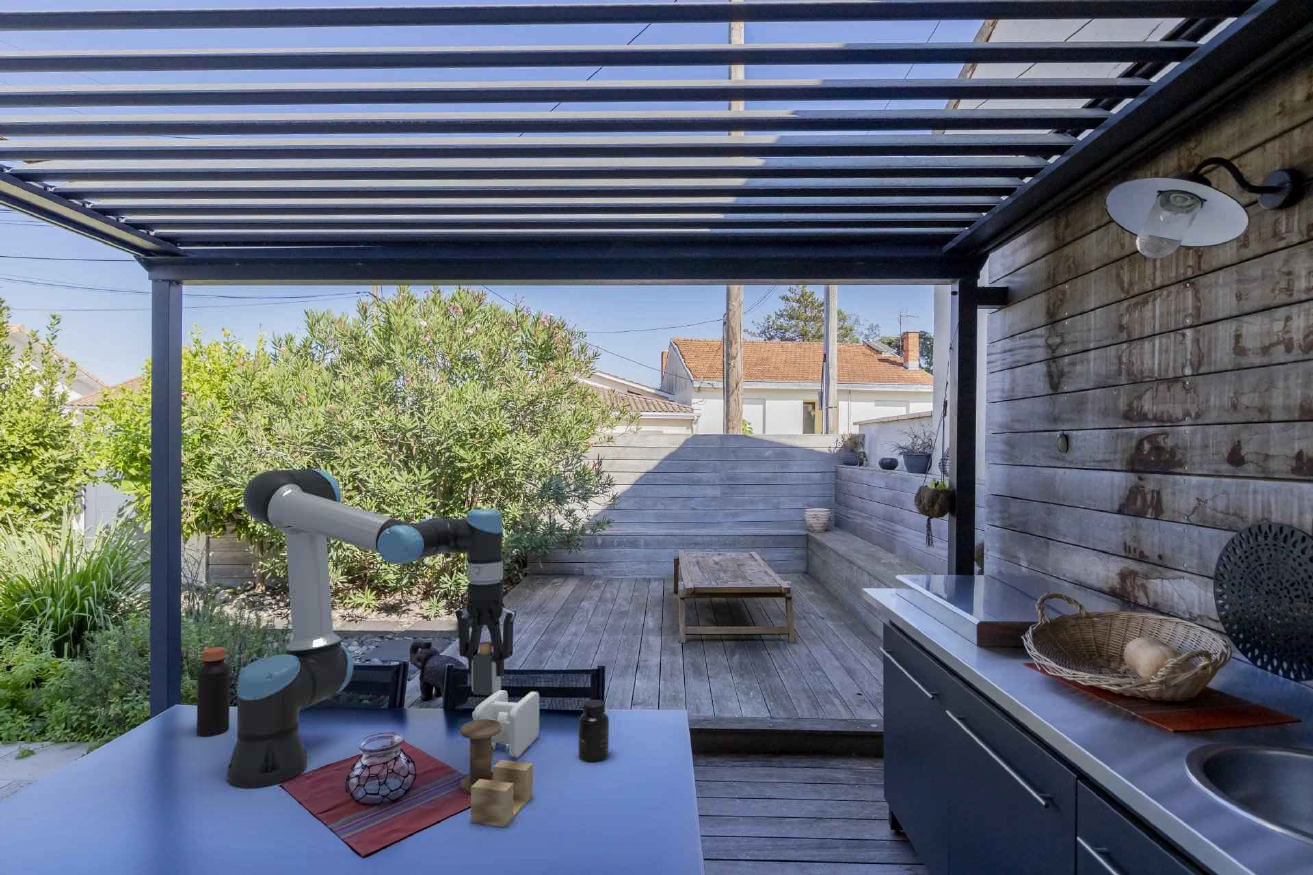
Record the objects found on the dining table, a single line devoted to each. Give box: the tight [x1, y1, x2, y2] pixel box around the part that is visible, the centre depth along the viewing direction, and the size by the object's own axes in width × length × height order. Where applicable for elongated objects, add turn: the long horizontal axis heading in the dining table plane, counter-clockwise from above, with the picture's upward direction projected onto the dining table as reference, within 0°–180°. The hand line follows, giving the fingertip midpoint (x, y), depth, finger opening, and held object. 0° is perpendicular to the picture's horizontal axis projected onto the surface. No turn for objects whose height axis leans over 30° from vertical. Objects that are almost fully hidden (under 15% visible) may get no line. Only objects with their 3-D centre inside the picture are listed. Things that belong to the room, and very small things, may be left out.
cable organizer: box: [471, 689, 540, 759], centre depth 167 cm, size 15×11×12 cm
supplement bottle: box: [577, 699, 610, 763], centre depth 162 cm, size 7×7×12 cm
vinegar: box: [196, 646, 231, 737], centre depth 176 cm, size 7×7×20 cm
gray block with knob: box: [472, 641, 495, 696], centre depth 155 cm, size 4×4×10 cm
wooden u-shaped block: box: [470, 759, 534, 828], centre depth 138 cm, size 7×12×7 cm, turn 166°
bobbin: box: [460, 719, 501, 794], centre depth 148 cm, size 8×8×12 cm
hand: (486, 689), depth 155 cm, fingers closed on gray block with knob, 4 cm apart
